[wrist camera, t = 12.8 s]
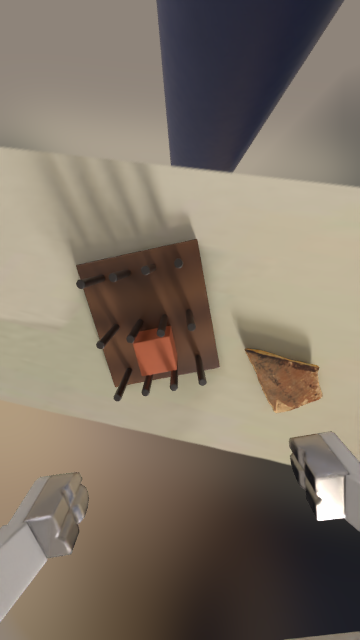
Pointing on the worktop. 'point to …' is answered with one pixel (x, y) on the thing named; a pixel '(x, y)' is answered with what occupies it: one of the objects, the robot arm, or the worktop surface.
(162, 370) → the block
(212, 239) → the worktop surface
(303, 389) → the shard
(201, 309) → the dish rack
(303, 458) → the robot arm
